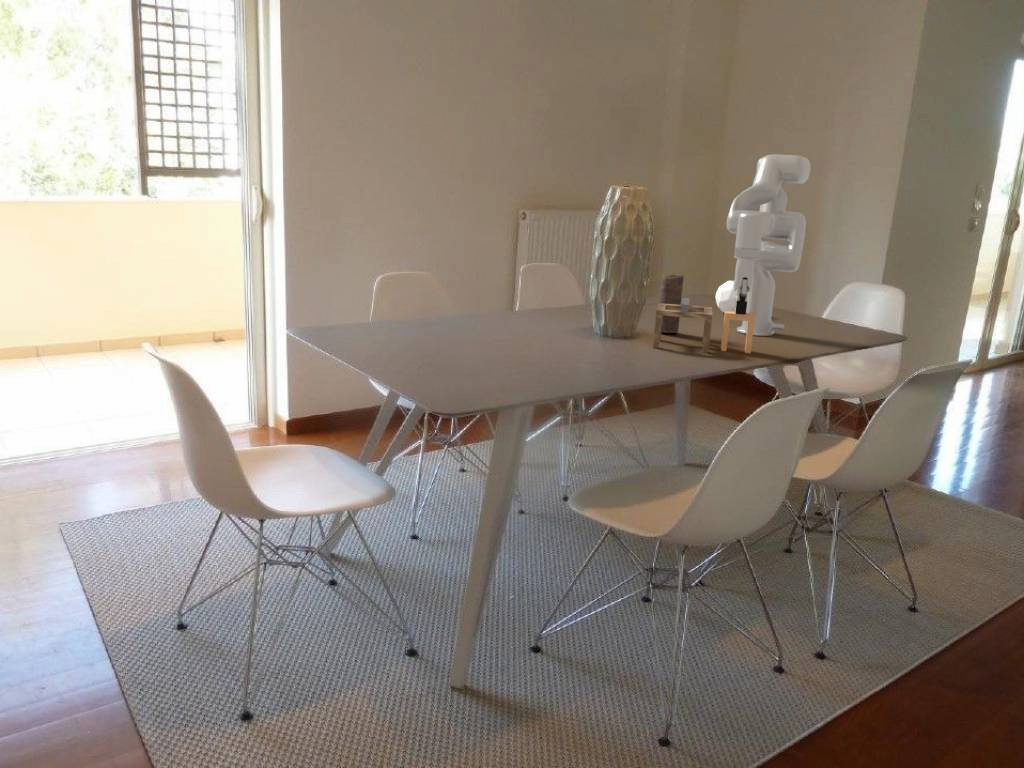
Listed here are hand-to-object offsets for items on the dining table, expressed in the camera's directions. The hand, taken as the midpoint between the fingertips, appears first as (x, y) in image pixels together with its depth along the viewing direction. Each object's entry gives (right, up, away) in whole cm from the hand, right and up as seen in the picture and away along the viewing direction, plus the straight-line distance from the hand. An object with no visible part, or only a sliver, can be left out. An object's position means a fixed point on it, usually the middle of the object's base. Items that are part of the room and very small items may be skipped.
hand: (740, 312), depth 272 cm
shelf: (-17, -10, +6) cm, 21 cm away
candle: (-18, -5, +25) cm, 32 cm away
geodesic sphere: (+15, +5, +70) cm, 71 cm away
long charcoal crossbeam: (-17, +1, +3) cm, 17 cm away
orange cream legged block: (-1, -12, +3) cm, 12 cm away
